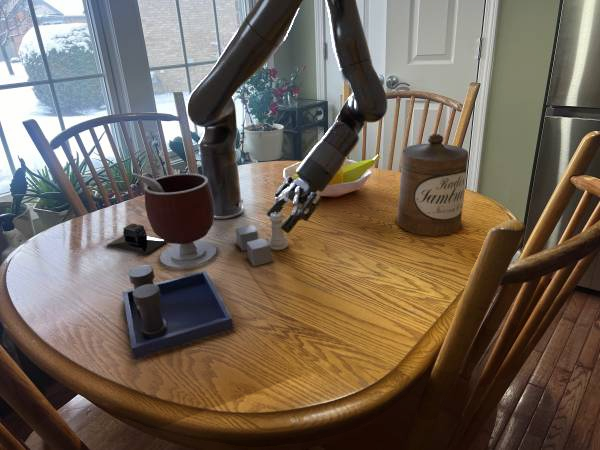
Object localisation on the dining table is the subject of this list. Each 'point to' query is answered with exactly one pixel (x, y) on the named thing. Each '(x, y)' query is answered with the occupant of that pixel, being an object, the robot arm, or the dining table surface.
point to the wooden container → (432, 187)
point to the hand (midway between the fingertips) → (276, 223)
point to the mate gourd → (181, 216)
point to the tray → (180, 314)
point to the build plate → (136, 240)
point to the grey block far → (245, 236)
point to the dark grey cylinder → (150, 311)
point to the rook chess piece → (277, 232)
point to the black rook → (141, 277)
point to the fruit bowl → (341, 177)
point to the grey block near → (259, 252)
